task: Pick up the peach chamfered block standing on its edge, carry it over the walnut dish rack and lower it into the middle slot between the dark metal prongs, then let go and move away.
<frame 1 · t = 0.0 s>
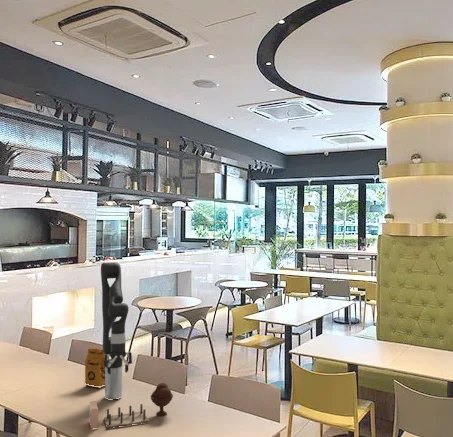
hand: (117, 373, 240), 17 cm above the table, tool pointing down, fingers open, 8 cm apart
peach chamfered block: (93, 425, 216), on the table
coffee package: (96, 386, 270), on the table
ice cream bowl: (161, 414, 229), on the table
dish rack: (126, 421, 220), on the table
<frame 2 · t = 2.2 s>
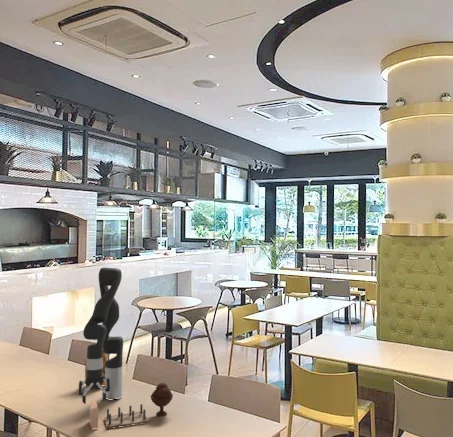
hand: (94, 401, 216), 11 cm above the table, tool pointing down, fingers open, 8 cm apart
nothing on the table moved.
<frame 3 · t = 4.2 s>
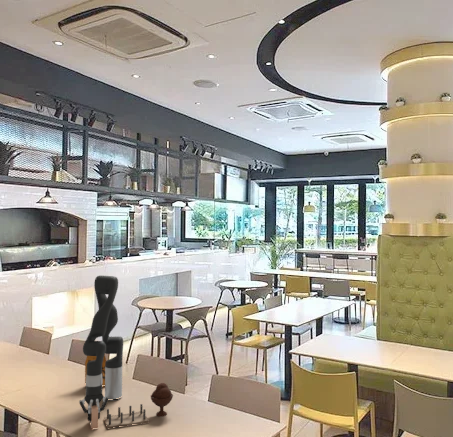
hand: (93, 420, 216), 2 cm above the table, tool pointing down, fingers closed on peach chamfered block, 2 cm apart
peach chamfered block: (93, 425, 216), on the table, touching gripper
everything else where it was.
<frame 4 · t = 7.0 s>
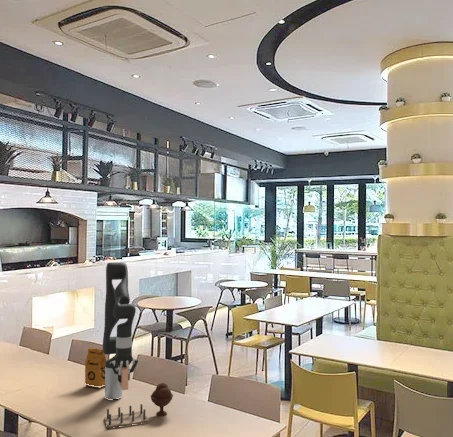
hand: (123, 381, 221), 19 cm above the table, tool pointing down, fingers closed on peach chamfered block, 2 cm apart
peach chamfered block: (123, 386, 220), point 17 cm above the table, touching gripper
everything else where it was.
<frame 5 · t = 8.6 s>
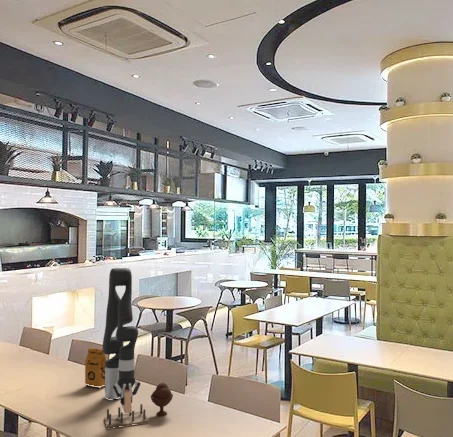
hand: (126, 404, 221), 8 cm above the table, tool pointing down, fingers closed on peach chamfered block, 2 cm apart
peach chamfered block: (126, 409, 221), point 6 cm above the table, touching gripper
everything else where it was.
when the fingers open (5 cm above the table, at t = 9.9 s): peach chamfered block drops 1 cm, resting on dish rack.
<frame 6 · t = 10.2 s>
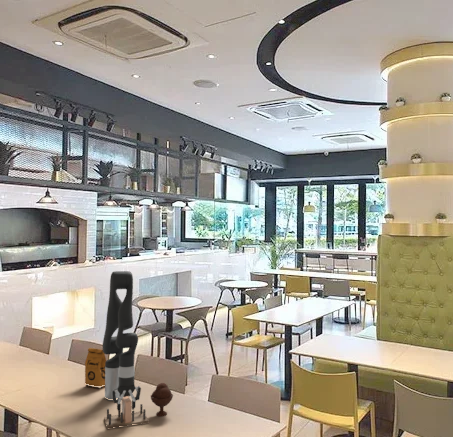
hand: (126, 409, 221), 5 cm above the table, tool pointing down, fingers open, 6 cm apart
peach chamfered block: (126, 418, 221), point 1 cm above the table, touching dish rack
everything else where it was.
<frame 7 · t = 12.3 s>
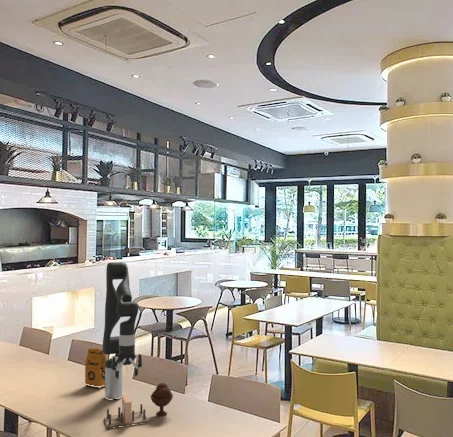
hand: (126, 377, 221), 21 cm above the table, tool pointing down, fingers open, 8 cm apart
nothing on the table moved.
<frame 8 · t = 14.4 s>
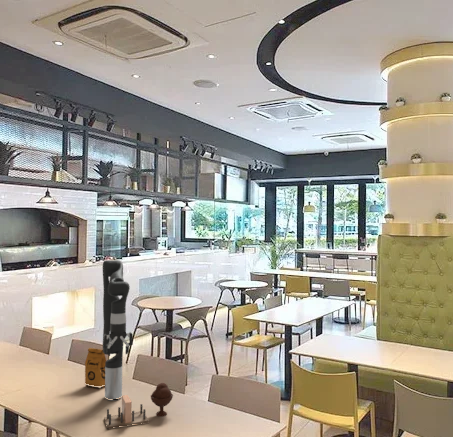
hand: (117, 354, 228), 30 cm above the table, tool pointing down, fingers open, 8 cm apart
nothing on the table moved.
at the end: peach chamfered block 0.2 cm off-centre on the dish rack, point 1.2 cm above the dish rack's base; peach chamfered block tilted 0°; the gripper is holding nothing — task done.
